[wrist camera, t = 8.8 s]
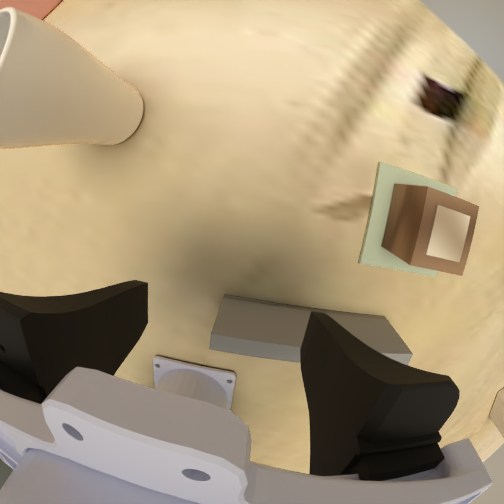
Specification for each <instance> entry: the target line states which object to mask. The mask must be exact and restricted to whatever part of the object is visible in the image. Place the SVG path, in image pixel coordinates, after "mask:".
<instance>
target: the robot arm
mask: <svg viewBox="0 0 504 504" xmlns="http://www.w3.org/2000/svg"><path fill="white" fill-rule="evenodd" d="M147 323H148V283H146V282H142V281H137V280H133V281H127V282H123V283H119V284H116V285H112V286H108V287H105V288H101V289H97V290H93V291H88V292H84V293H79V294H73V295H65V296H49V297H33V296H21V295H14V294H8V293H2V292H0V458H1V459H2V460H3V461H4V462H5V463H6V464H7V465H9V466H10V467H11V468H12V469H13V472H12V473H11V475H10V476H9V478H8V479H7V481H6V482H5V484H4V485H3V487H2V489H1V490H0V504H469V503H470V502H471V501H473V500H474V499H475V498H477V497H478V496H479V495H480V494H481V493H483V492H484V491H485V490H486V489H487V488H489V486H491V485H492V483H493V482H492V480H491V478H490V476H489V474H488V472H487V470H486V468H485V466H484V465H483V463H482V461H481V459H480V457H479V456H478V454H477V452H476V450H475V449H474V447H473V445H472V443H471V442H470V440H469V439H463V440H460V441H457V442H454V443H451V444H448V445H446V446H444V447H443V448H441V449H440V447H439V445H438V443H437V442H440V440H441V435H440V434H439V432H438V431H439V430H440V429H441V427H442V426H443V425H444V423H445V422H446V421H447V419H448V418H449V417H450V415H451V414H452V412H453V411H454V409H455V407H456V405H457V402H458V399H459V389H458V387H457V386H456V385H455V383H454V382H453V381H452V379H451V378H450V377H449V376H446V375H441V374H436V373H431V372H427V371H423V370H420V369H417V368H413V367H410V366H408V365H405V364H402V363H400V362H398V361H395V360H393V359H391V358H389V357H387V356H385V355H383V354H381V353H379V352H378V351H376V350H374V349H372V348H371V347H369V346H368V345H366V344H365V343H363V342H362V341H360V340H359V339H358V338H356V337H355V336H354V335H352V334H351V333H350V332H349V331H347V330H346V329H345V328H344V327H342V326H341V325H340V324H339V323H338V322H336V321H335V320H334V319H333V318H331V317H330V316H329V315H327V314H326V313H322V312H314V311H311V313H310V317H309V321H308V324H307V328H306V331H305V335H304V338H303V342H302V345H301V349H300V362H301V372H302V377H303V382H304V387H305V392H306V398H307V403H308V409H309V418H310V474H305V473H299V472H294V471H289V470H285V469H280V468H276V467H272V466H268V465H264V464H260V463H256V462H253V461H250V450H251V436H250V431H249V426H248V425H247V424H246V423H245V422H244V421H243V420H241V419H240V418H239V417H238V416H237V415H235V414H234V413H233V412H232V411H231V410H230V409H231V403H232V397H233V391H234V386H235V380H236V374H235V373H234V372H231V371H225V370H220V369H214V368H209V367H204V366H199V365H194V364H190V363H185V362H181V361H177V360H172V359H168V358H164V357H160V356H155V357H154V359H153V371H154V386H155V389H153V388H150V387H147V386H143V385H140V384H137V383H133V382H130V381H127V380H124V379H121V378H118V377H115V376H114V374H115V372H116V371H117V369H118V368H119V367H120V365H121V364H122V362H123V361H124V360H125V358H126V357H127V356H128V354H129V353H130V351H131V350H132V349H133V347H134V346H135V345H136V343H137V342H138V340H139V339H140V337H141V335H142V333H143V331H144V329H145V327H146V325H147ZM157 364H159V365H160V366H159V365H157ZM229 380H232V381H229Z"/></svg>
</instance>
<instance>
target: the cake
mask: <svg viewBox="0 0 504 504" xmlns="http://www.w3.org/2000/svg"><path fill="white" fill-rule="evenodd" d="M60 1H61V0H0V10H1V9H3V8H5V7H14V8H16V9H18V10H21V11H24V12H26V13H29V14H31V15H34V16H36V17H38V18H40V19H43V18H44V17H45V16H46V15H47V14H48V13H50V12H51V11H52V10H53V9H54V8H55V7H56V6H57V5H58V3H59V2H60Z"/></svg>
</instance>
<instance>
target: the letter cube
mask: <svg viewBox="0 0 504 504" xmlns="http://www.w3.org/2000/svg"><path fill="white" fill-rule="evenodd" d="M478 209H479V206H477V205H474V204H472V203H470V202H467V201H465V200H462V199H460V198H457V197H455V196H452V195H450V194H447V193H444V192H442V191H439V190H436V189H434V188H431V187H428V186H418V185H407V184H394V187H393V192H392V198H391V203H390V208H389V213H388V218H387V223H386V227H385V231H384V236H383V240H382V244H381V247H383V248H385V249H386V250H388V251H389V252H391V253H392V254H394V255H395V256H397V257H398V258H400V259H401V260H403V261H404V262H406V263H407V264H409V265H411V266H416V267H421V268H426V269H431V270H436V271H441V272H446V273H451V274H456V275H461V276H462V275H463V271H464V268H465V265H466V261H467V258H468V254H469V250H470V246H471V242H472V238H473V234H474V229H475V224H476V220H477V214H478Z"/></svg>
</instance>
